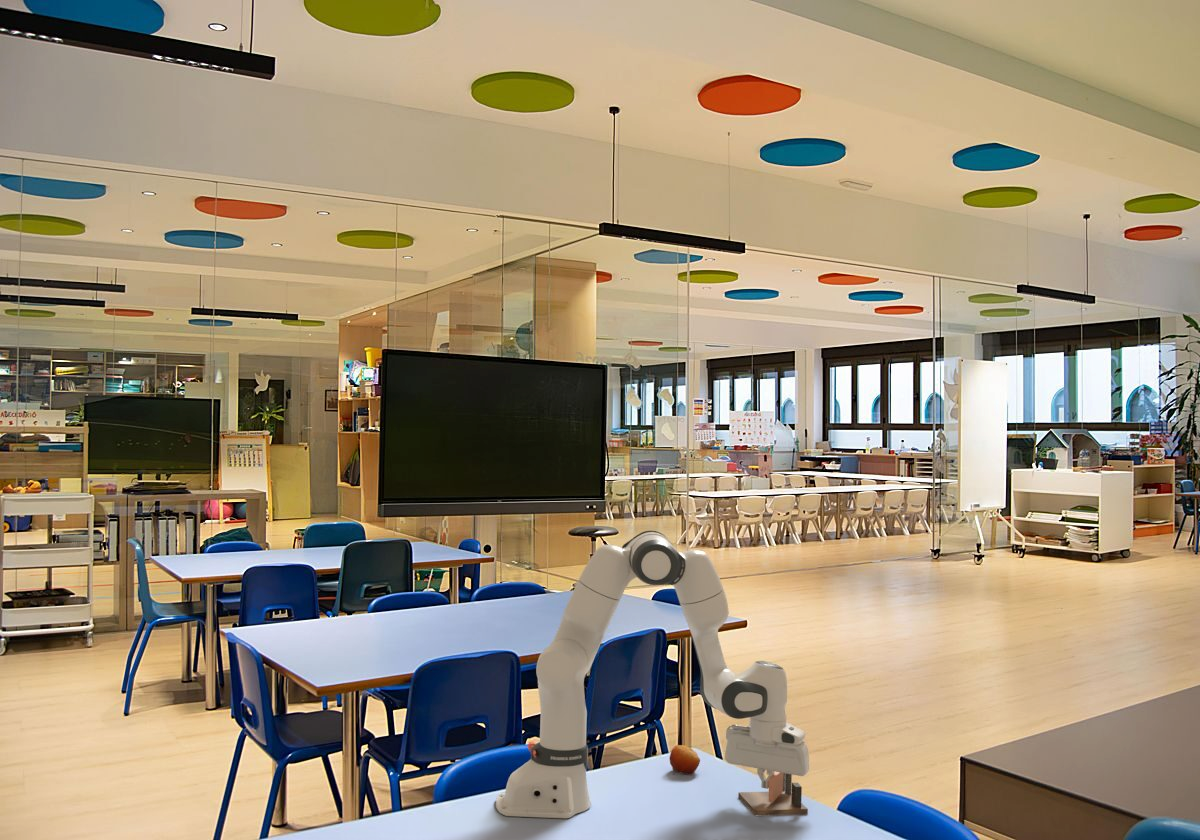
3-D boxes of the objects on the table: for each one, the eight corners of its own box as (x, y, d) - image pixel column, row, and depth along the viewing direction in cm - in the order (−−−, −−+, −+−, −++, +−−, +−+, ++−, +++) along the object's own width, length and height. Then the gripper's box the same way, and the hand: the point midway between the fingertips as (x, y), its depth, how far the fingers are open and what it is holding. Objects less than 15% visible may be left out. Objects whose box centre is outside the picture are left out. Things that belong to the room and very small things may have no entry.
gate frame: (755, 815, 225) (755, 780, 225) (738, 797, 237) (739, 764, 237) (807, 814, 227) (808, 779, 227) (788, 795, 239) (789, 763, 240)
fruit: (660, 762, 259) (675, 736, 260) (684, 777, 259) (699, 751, 260) (665, 771, 251) (681, 745, 252) (690, 787, 251) (706, 760, 252)
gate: (773, 802, 228) (774, 779, 228) (767, 801, 229) (767, 778, 229) (785, 790, 237) (786, 767, 238) (779, 788, 238) (779, 766, 238)
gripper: (722, 725, 234) (720, 783, 234) (805, 739, 226) (803, 799, 225) (730, 720, 240) (728, 776, 239) (811, 733, 231) (810, 791, 231)
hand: (765, 787), depth 232 cm, fingers closed
